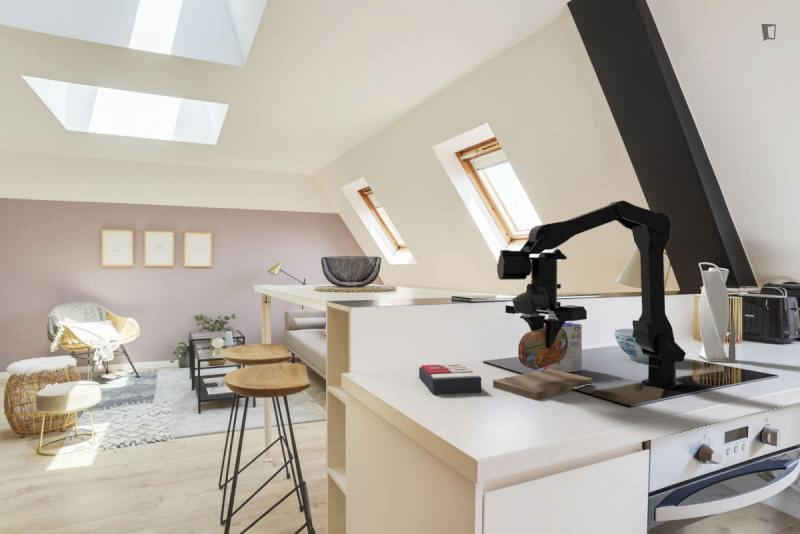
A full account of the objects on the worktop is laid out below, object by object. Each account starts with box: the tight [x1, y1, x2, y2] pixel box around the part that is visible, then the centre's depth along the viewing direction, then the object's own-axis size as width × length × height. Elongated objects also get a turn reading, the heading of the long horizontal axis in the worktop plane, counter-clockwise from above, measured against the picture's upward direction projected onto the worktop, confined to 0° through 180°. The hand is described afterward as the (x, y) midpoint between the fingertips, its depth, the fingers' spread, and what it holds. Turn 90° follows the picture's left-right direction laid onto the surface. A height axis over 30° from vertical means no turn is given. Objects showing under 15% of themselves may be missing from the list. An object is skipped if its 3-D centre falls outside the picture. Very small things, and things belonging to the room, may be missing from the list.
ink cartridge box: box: [539, 321, 583, 373], centre depth 127 cm, size 10×6×14 cm, turn 111°
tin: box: [517, 327, 568, 371], centre depth 112 cm, size 15×3×8 cm, turn 125°
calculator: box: [418, 363, 482, 396], centre depth 114 cm, size 11×4×15 cm
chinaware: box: [613, 328, 649, 363], centre depth 141 cm, size 15×15×8 cm
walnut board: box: [492, 369, 593, 401], centre depth 112 cm, size 20×12×2 cm, turn 125°
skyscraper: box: [698, 261, 738, 364], centre depth 141 cm, size 8×8×28 cm
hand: (543, 347), depth 112 cm, fingers closed on tin, 2 cm apart
